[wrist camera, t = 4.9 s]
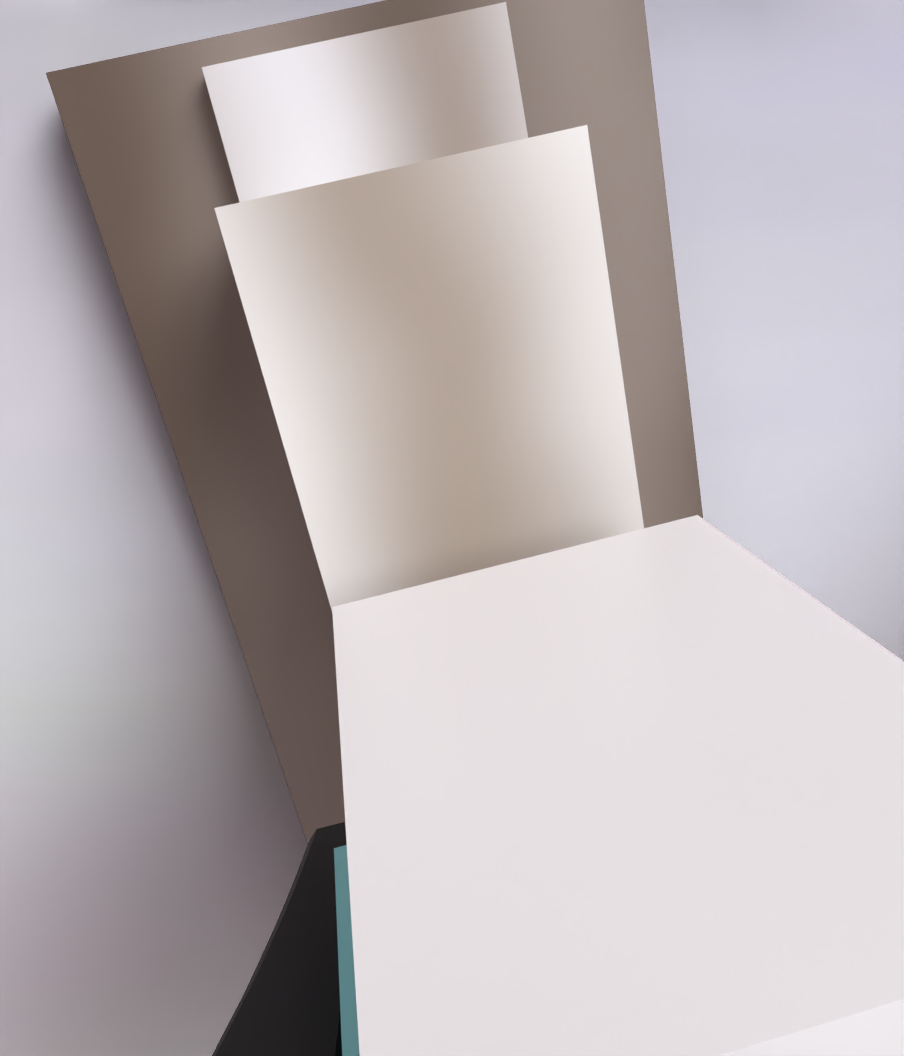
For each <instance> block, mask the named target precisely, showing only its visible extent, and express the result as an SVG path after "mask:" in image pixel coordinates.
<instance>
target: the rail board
mask: <svg viewBox="0 0 904 1056" xmlns="http://www.w3.org/2000/svg"><path fill="white" fill-rule="evenodd" d="M46 75H47V78H48V81H49V84H50V86H51V89H52V92H53V95H54V98H55V101H56V104H57V107H58V110H59V113H60V116H61V119H62V122H63V125H64V128H65V131H66V134H67V137H68V140H69V142H70V145H71V148H72V151H73V154H74V157H75V160H76V163H77V166H78V169H79V172H80V175H81V178H82V181H83V184H84V187H85V190H86V193H87V196H88V198H89V201H90V204H91V207H92V210H93V213H94V216H95V219H96V222H97V225H98V228H99V231H100V234H101V237H102V240H103V243H104V246H105V249H106V251H107V254H108V257H109V260H110V263H111V266H112V269H113V272H114V275H115V278H116V281H117V284H118V287H119V290H120V293H121V296H122V299H123V302H124V305H125V307H126V310H127V313H128V316H129V319H130V322H131V325H132V328H133V331H134V334H135V337H136V340H137V343H138V346H139V349H140V352H141V355H142V358H143V361H144V363H145V366H146V369H147V372H148V375H149V378H150V381H151V384H152V387H153V390H154V393H155V396H156V399H157V402H158V405H159V408H160V411H161V414H162V417H163V419H164V422H165V425H166V428H167V431H168V434H169V437H170V440H171V443H172V446H173V449H174V452H175V455H176V458H177V461H178V464H179V467H180V470H181V472H182V475H183V478H184V481H185V484H186V487H187V490H188V493H189V496H190V499H191V502H192V505H193V508H194V511H195V514H196V517H197V520H198V523H199V526H200V528H201V531H202V534H203V537H204V540H205V543H206V546H207V549H208V552H209V555H210V558H211V561H212V564H213V567H214V570H215V573H216V576H217V579H218V582H219V584H220V587H221V590H222V593H223V596H224V599H225V602H226V605H227V608H228V611H229V614H230V617H231V620H232V623H233V626H234V629H235V632H236V635H237V638H238V640H239V643H240V646H241V649H242V652H243V655H244V658H245V661H246V664H247V667H248V670H249V673H250V676H251V679H252V682H253V685H254V688H255V691H256V693H257V696H258V699H259V702H260V705H261V708H262V711H263V714H264V717H265V720H266V723H267V726H268V729H269V732H270V735H271V738H272V741H273V744H274V747H275V749H276V752H277V755H278V758H279V761H280V764H281V767H282V770H283V773H284V776H285V779H286V782H287V785H288V788H289V791H290V794H291V797H292V800H293V803H294V805H295V808H296V811H297V814H298V817H299V820H300V823H301V826H302V829H303V832H304V835H305V838H306V841H307V844H308V843H309V840H310V838H311V837H312V835H313V834H314V832H315V831H316V829H318V828H322V827H326V826H330V825H334V824H338V823H342V822H345V809H344V793H343V777H342V761H341V744H340V728H339V712H338V695H337V679H336V663H335V647H334V630H333V614H332V607H334V606H338V605H342V604H346V603H350V602H354V601H358V600H362V599H366V598H370V597H374V596H378V595H382V594H386V593H390V592H394V591H398V590H402V589H406V588H410V587H414V586H418V585H422V584H426V583H430V582H434V581H438V580H442V579H446V578H449V577H453V576H457V575H461V574H465V573H469V572H473V571H477V570H481V569H485V568H489V567H493V566H497V565H501V564H505V563H509V562H513V561H517V560H521V559H525V558H529V557H533V556H537V555H541V554H545V553H549V552H553V551H557V550H561V549H564V548H568V547H572V546H576V545H580V544H584V543H588V542H592V541H596V540H600V539H604V538H608V537H612V536H616V535H620V534H624V533H628V532H632V531H636V530H640V529H644V528H648V527H652V526H656V525H660V524H664V523H668V522H672V521H676V520H679V519H683V518H687V517H691V516H695V515H698V516H700V517H701V518H703V514H702V505H701V496H700V487H699V479H698V470H697V461H696V453H695V444H694V435H693V426H692V418H691V409H690V400H689V391H688V383H687V374H686V365H685V356H684V348H683V339H682V330H681V321H680V313H679V304H678V295H677V286H676V278H675V269H674V260H673V251H672V243H671V234H670V225H669V216H668V208H667V199H666V190H665V181H664V173H663V164H662V155H661V146H660V138H659V129H658V120H657V111H656V103H655V94H654V85H653V76H652V68H651V59H650V50H649V41H648V33H647V24H646V15H645V6H644V0H385V1H381V2H376V3H371V4H367V5H362V6H357V7H353V8H348V9H343V10H339V11H334V12H329V13H324V14H320V15H315V16H310V17H306V18H301V19H296V20H292V21H287V22H282V23H278V24H273V25H268V26H264V27H259V28H254V29H250V30H245V31H240V32H235V33H231V34H226V35H221V36H217V37H212V38H207V39H203V40H198V41H193V42H189V43H184V44H179V45H175V46H170V47H165V48H161V49H156V50H151V51H146V52H142V53H137V54H132V55H128V56H123V57H118V58H114V59H109V60H104V61H100V62H95V63H90V64H86V65H81V66H76V67H71V68H67V69H62V70H57V71H53V72H48V73H46Z"/></svg>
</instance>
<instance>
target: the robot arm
mask: <svg viewBox="0 0 904 1056" xmlns="http://www.w3.org/2000/svg"><path fill="white" fill-rule="evenodd" d="M344 845H347V842H346V826H345V822H342V823H338V824H334V825H330V826H326V827H322V828H318V829H316V831H315V832H314V834H313V835H312V837H311V838H310V840H309V843H308V845H307V848H306V851H305V854H304V856H303V859H302V862H301V864H300V867H299V870H298V872H297V875H296V877H295V880H294V883H293V885H292V888H291V890H290V893H289V895H288V897H287V900H286V902H285V905H284V907H283V909H282V912H281V914H280V916H279V919H278V921H277V924H276V926H275V928H274V930H273V932H272V935H271V937H270V939H269V941H268V943H267V946H266V948H265V950H264V952H263V954H262V956H261V959H260V961H259V963H258V965H257V967H256V970H255V972H254V974H253V976H252V978H251V980H250V983H249V985H248V987H247V989H246V991H245V993H244V995H243V997H242V999H241V1001H240V1003H239V1005H238V1007H237V1009H236V1011H235V1012H234V1014H233V1016H232V1018H231V1020H230V1022H229V1024H228V1026H227V1028H226V1030H225V1032H224V1034H223V1035H222V1037H221V1039H220V1041H219V1043H218V1045H217V1047H216V1049H215V1051H214V1053H213V1055H212V1056H342V1038H341V1013H340V988H339V963H338V938H337V913H336V889H335V864H334V848H337V847H341V846H344Z"/></svg>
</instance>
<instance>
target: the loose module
mask: <svg viewBox="0 0 904 1056" xmlns="http://www.w3.org/2000/svg"><path fill="white" fill-rule="evenodd" d="M332 614H333V630H334V647H335V663H336V679H337V695H338V712H339V728H340V744H341V761H342V777H343V793H344V809H345V826H346V842H347V845H344V846H341V847H337V848H334V864H335V889H336V913H337V938H338V963H339V988H340V1013H341V1038H342V1056H904V661H903V660H901V659H900V658H898V657H897V656H896V655H894V654H893V653H891V652H890V651H889V650H887V649H886V648H884V647H883V646H881V645H880V644H879V643H877V642H876V641H874V640H873V639H872V638H870V637H869V636H867V635H866V634H865V633H863V632H862V631H860V630H859V629H858V628H856V627H855V626H853V625H852V624H851V623H849V622H848V621H846V620H845V619H843V618H842V617H841V616H839V615H838V614H836V613H835V612H834V611H832V610H831V609H829V608H828V607H827V606H825V605H824V604H822V603H821V602H820V601H818V600H817V599H815V598H814V597H812V596H811V595H810V594H808V593H807V592H805V591H804V590H803V589H801V588H800V587H798V586H797V585H796V584H794V583H793V582H791V581H790V580H789V579H787V578H786V577H784V576H783V575H781V574H780V573H779V572H777V571H776V570H774V569H773V568H772V567H770V566H769V565H767V564H766V563H765V562H763V561H762V560H760V559H759V558H758V557H756V556H755V555H753V554H752V553H751V552H749V551H748V550H746V549H745V548H743V547H742V546H741V545H739V544H738V543H736V542H735V541H734V540H732V539H731V538H729V537H728V536H727V535H725V534H724V533H722V532H721V531H720V530H718V529H717V528H715V527H714V526H712V525H711V524H710V523H708V522H707V521H705V520H704V519H703V518H701V517H700V516H698V515H695V516H691V517H687V518H683V519H679V520H676V521H672V522H668V523H664V524H660V525H656V526H652V527H648V528H644V529H640V530H636V531H632V532H628V533H624V534H620V535H616V536H612V537H608V538H604V539H600V540H596V541H592V542H588V543H584V544H580V545H576V546H572V547H568V548H564V549H561V550H557V551H553V552H549V553H545V554H541V555H537V556H533V557H529V558H525V559H521V560H517V561H513V562H509V563H505V564H501V565H497V566H493V567H489V568H485V569H481V570H477V571H473V572H469V573H465V574H461V575H457V576H453V577H449V578H446V579H442V580H438V581H434V582H430V583H426V584H422V585H418V586H414V587H410V588H406V589H402V590H398V591H394V592H390V593H386V594H382V595H378V596H374V597H370V598H366V599H362V600H358V601H354V602H350V603H346V604H342V605H338V606H334V607H332Z"/></svg>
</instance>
